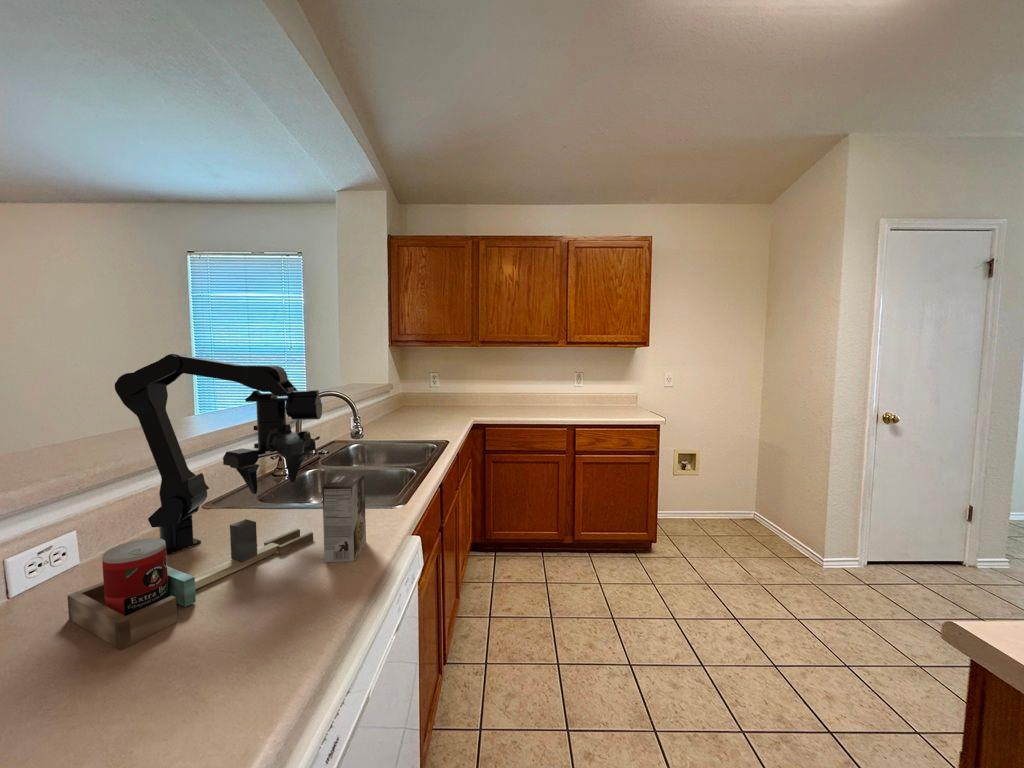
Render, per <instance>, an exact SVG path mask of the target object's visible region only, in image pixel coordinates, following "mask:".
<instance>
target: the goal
mask: <svg viewBox="0 0 1024 768" xmlns="http://www.w3.org/2000/svg"><path fill="white" fill-rule="evenodd" d="M66 597H67V611H68V620H69V621H71V622H73V623H75V624H76V625H78V626H80V627H82V628H83V629H84V630H86V631H88V632H90V633H91V634H93V635H95V636H96V637H98V638H100V639H101V640H103V641H105V642H106V643H108V644H110V645H112V646H113V647H115V648H117V649H118V650H120V651H122V650H123V649H125V648H127V647H129V646H131V645H134V644H136V643H138V642H140V641H141V640H144V639H146V638H148V637H149V636H152V635H154V634H156V633H158V632H159V631H162V630H164V629H166V628H168V627H169V626H172V625H174V624H175V623H176V624H177V622H178V613H177V609H178V608H177V603H176V597H174V596H170V597H167V598H165V599H163V600H161V601H158V602H156V603H154V604H152V605H149V606H147V607H145V608H143V609H141V610H138V611H136V612H134V613H132V614H129V615H127V616H124V615H122V614H120V613H118V612H116V611H114V610H113V609H111V608H109V607H107V606H105V595H104V581H102V582H100V583H97V584H93V585H92V586H89V587H85V588H83V589H81V590H76V591H75V592H73V593H69V594H67V596H66Z"/></svg>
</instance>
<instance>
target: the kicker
mask: <svg viewBox="0 0 1024 768" xmlns="http://www.w3.org/2000/svg"><path fill="white" fill-rule="evenodd" d="M229 535H230V558H231V560H228V561H226V562H224V563H221V564H218V565H217V566H214V567H211V568H210V569H206V570H205V571H203V572H201V573H198V574H196V575H190V574H188V573H186V572H183V571H180V570H178V569H175V568H173V567H170V566H168V565H167V573H168V594H169V597H170V596H174V597H176V605H177V604H178V605H180V606H182V607H184V608H186V607H188V606H190V605H192V604H194V603H196V602H197V597H196V590H197V589H199V588H201V587H204V586H206V585H208V584H210V583H212V582H215V581H217V580H220V579H221V578H223V577H226V576H228V575H230V574H233V573H234V572H237V571H239V570H242V569H244V568H245V567H248V566H251V565H252V564H254V563H257V562H259V561H261V560H263V559H265V558H268V557H270V556H272V555H274V554H278V546H279V545H278V544H275V543H270V544H268V545H265V546H264V545H263V546H261V547H259V548H258V539H257V537H258V536H257V521H254V520H251V519H247V518H246V519H243V520H240V521H237V522H234V523H232V524H229Z"/></svg>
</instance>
